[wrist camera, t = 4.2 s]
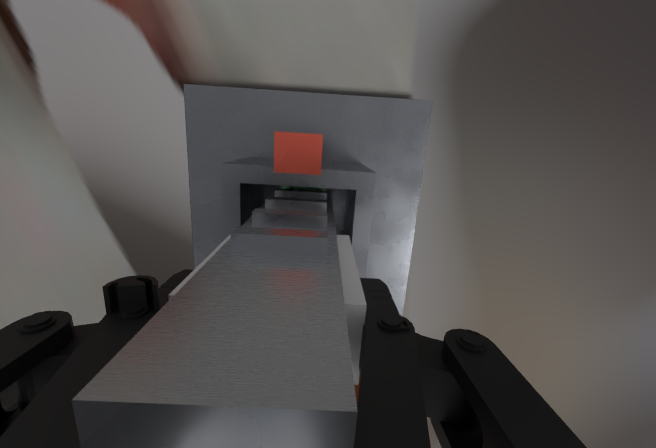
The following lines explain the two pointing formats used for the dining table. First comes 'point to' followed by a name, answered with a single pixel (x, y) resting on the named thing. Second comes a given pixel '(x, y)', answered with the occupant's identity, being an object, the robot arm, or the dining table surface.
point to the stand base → (347, 159)
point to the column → (240, 346)
